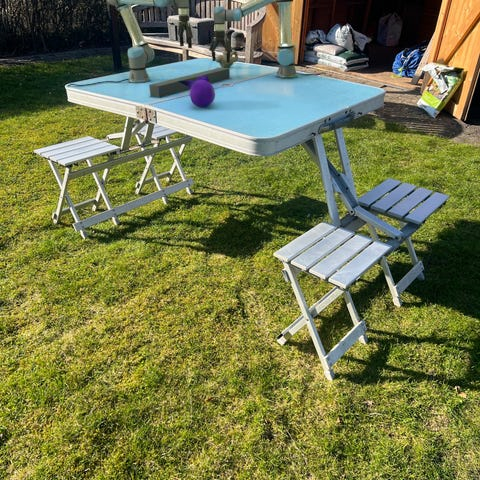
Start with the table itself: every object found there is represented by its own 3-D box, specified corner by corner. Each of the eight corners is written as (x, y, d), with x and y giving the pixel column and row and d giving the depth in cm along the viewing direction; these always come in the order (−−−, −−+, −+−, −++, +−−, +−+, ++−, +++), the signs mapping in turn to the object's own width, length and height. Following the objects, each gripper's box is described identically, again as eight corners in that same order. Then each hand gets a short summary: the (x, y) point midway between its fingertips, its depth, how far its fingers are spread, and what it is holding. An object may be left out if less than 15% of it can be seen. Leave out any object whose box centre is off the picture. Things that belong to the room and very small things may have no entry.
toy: (202, 98, 286) (215, 113, 265) (176, 93, 278) (186, 109, 258) (208, 73, 277) (221, 86, 257) (180, 67, 270) (192, 81, 249)
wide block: (159, 97, 291) (158, 86, 287) (150, 96, 295) (149, 84, 291) (229, 78, 342) (229, 68, 338) (221, 77, 346) (220, 67, 342)
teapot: (219, 70, 373) (218, 50, 365) (212, 68, 382) (211, 49, 374) (241, 67, 382) (240, 48, 375) (234, 65, 391) (233, 46, 383)
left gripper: (196, 15, 313) (198, 48, 324) (181, 13, 331) (183, 44, 342) (186, 16, 310) (188, 49, 320) (171, 14, 328) (174, 45, 339)
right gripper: (236, 30, 320) (237, 62, 331) (210, 29, 333) (211, 59, 344) (230, 31, 315) (231, 63, 326) (203, 30, 328) (205, 61, 339)
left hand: (186, 47), depth 331 cm, fingers open, 13 cm apart
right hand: (221, 61), depth 335 cm, fingers open, 13 cm apart
